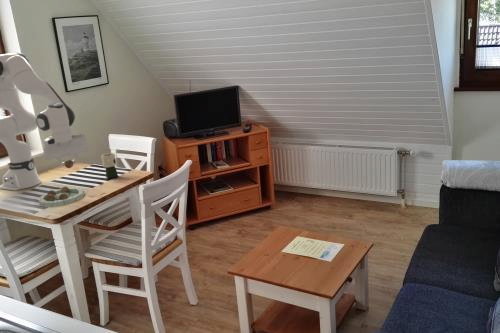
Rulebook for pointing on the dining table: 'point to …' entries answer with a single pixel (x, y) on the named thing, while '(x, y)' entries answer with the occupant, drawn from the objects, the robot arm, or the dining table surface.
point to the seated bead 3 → (63, 196)
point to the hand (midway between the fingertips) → (69, 164)
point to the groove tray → (72, 196)
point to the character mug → (109, 164)
